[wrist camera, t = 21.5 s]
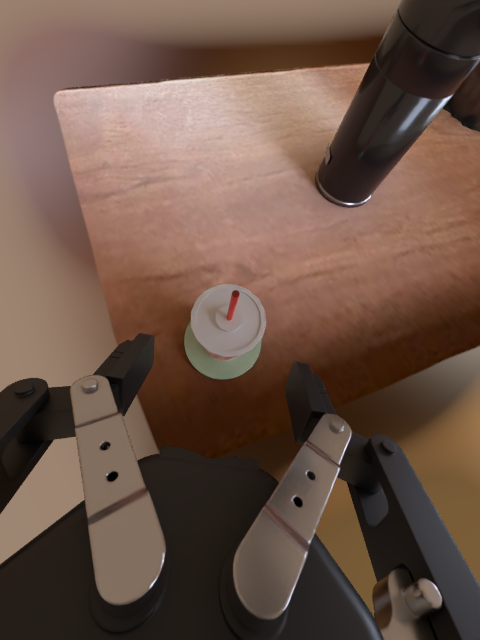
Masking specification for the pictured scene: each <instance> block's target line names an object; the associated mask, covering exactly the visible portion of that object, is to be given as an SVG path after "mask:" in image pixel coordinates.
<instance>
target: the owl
mask: <svg viewBox="0 0 480 640" xmlns="http://www.w3.org/2000/svg"><path fill="white" fill-rule="evenodd" d="M443 109H445V110H447V111H449V112H450V113H452V116H453V117H454V118H456V119H458V120H459V121H461V123H462V125H464V126H467V127H468V128H470V129H474V130H478V131H480V63H479V64H478V65H477V66H476V68H475V69H474V70H473V71H472V73H471V74H470V75H469V76H468V77H467V79H466V80H465V81H464V82H463V84H462V85H461V86H460V87H459V88H458V90H457V91H456V92H455V93H454V95H453V96H452V97H451V98H450V100H449V101H448V102H447V103H446V105H445V106H444V107H443Z"/></svg>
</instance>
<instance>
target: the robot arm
mask: <svg viewBox="0 0 480 640" xmlns="http://www.w3.org/2000/svg"><path fill="white" fill-rule="evenodd" d="M479 63H480V0H401V1H400V4H399V5H398V7H397V9H396V12H395V14H394V16H393V18H392V20H391V22H390V24H389V26H388V28H387V30H386V32H385V34H384V36H383V38H382V40H381V42H380V44H379V46H378V48H377V51H376V53H375V55H374V57H373V59H372V61H371V63H370V65H369V67H368V69H367V71H366V73H365V75H364V77H363V79H362V81H361V83H360V85H359V88H358V90H357V92H356V94H355V96H354V98H353V100H352V102H351V104H350V106H349V108H348V110H347V112H346V114H345V116H344V118H343V120H342V122H341V124H340V126H339V128H338V130H337V132H336V134H335V137H334V139H333V141H332V143H331V145H330V147H329V144H328V146H327V148H326V150H325V157H324V159H323V161H322V163H321V164H320V166H319V168H318V170H317V172H316V176H315V180H316V184H317V187H318V189H319V191H320V192H321V193H322V194H323V196H325V197H326V198H327V199H328V200H329V201H331V202H333V203H335V204H337V205H340V206H343V207H357V206H360V205H363V204H364V203H365V202H367V200H368V199H369V198H370V197H371V195H372V194H373V192H374V191H375V190H376V188H377V187H378V186H379V185H380V184H381V182H382V181H383V180H384V179H385V178H386V176H387V175H388V174H389V173H390V172H391V170H392V169H393V168H394V167H395V165H396V164H397V163H398V162H399V161H400V159H401V158H402V157H403V156H404V155H405V153H406V152H407V151H408V150H409V148H410V147H411V146H412V145H413V144H414V142H415V141H416V140H417V139H418V137H419V136H420V135H421V134H422V133H423V131H424V130H425V129H426V128H427V126H428V125H429V124H430V123H431V122H432V120H433V119H434V118H435V117H436V116H437V114H438V113H439V112H440V111H441V109H442V108H443V107H444V106H445V105H446V103H447V102H448V101H449V100H450V98H451V97H452V96H453V95H454V93H455V92H456V91H457V90H458V88H459V87H460V86H461V85H462V84H463V82H464V81H465V80H466V79H467V77H468V76H469V75H470V74H471V73H472V71H473V70H474V69H475V68H476V66H477V65H478V64H479ZM153 359H154V336H153V335H148V334H143V333H139V334H138V335H137V336H136V338H135V339H134V340H133V341H130V340H127V341H125V342H123V343H121V344H119V345H118V347H117V348H116V349H115V350H114V352H112V353H111V355H110V356H109V357H108V358H107V359H106V360H105V361H104V363H103V364H102V365H101V366H100V367H99V368H98V370H97V371H96V372H95V373H94V374H93V375H90V376H86V377H83V378H80V379H78V380H77V381H76V382H74V383H73V384H72V386H65V387H52V388H48V384H47V382H46V381H45V380H43V379H39V378H29V379H23V380H20V381H17V382H15V383H12V384H11V385H9V386H8V387H6V388H5V389H4V390H3V391H2V392H0V514H1V512H2V511H3V510H4V508H5V507H6V505H7V504H8V503H9V501H10V500H11V499H12V497H13V496H14V494H15V493H16V491H17V490H18V489H19V487H20V486H21V485H22V483H23V482H24V481H25V479H26V478H27V476H28V475H29V474H30V472H31V471H32V469H33V468H34V467H35V465H36V464H37V463H38V461H39V460H40V458H41V457H42V456H43V454H44V453H45V451H46V450H47V449H48V447H49V446H50V445H51V443H52V442H53V440H54V439H61V438H68V437H75V436H76V440H77V447H78V455H79V462H80V469H81V476H82V483H83V491H84V498H85V500H84V501H82V502H81V503H80V504H78V505H77V506H76V507H74V508H73V509H72V510H71V511H69V512H68V513H67V514H65V515H64V516H63V517H61V518H60V519H59V520H58V521H56V522H55V523H54V524H52V525H51V526H50V527H48V528H47V529H46V530H44V531H43V532H42V533H41V534H39V535H38V536H37V537H35V538H34V539H33V540H31V541H30V542H29V543H28V544H26V545H25V546H24V547H22V548H21V549H20V550H19V551H17V552H16V553H14V554H13V555H12V556H11V557H9V558H8V559H7V560H5V561H4V562H3V563H1V564H0V640H480V585H479V584H478V582H477V580H476V578H475V577H474V575H473V573H472V571H471V570H470V568H469V566H468V564H467V563H466V561H465V559H464V557H463V556H462V554H461V552H460V550H459V549H458V547H457V545H456V543H455V542H454V540H453V538H452V537H451V535H450V533H449V531H448V529H447V528H446V526H445V524H444V522H443V520H442V519H441V517H440V516H439V513H438V512H437V510H436V508H435V507H434V505H433V503H432V501H431V500H430V498H429V496H428V494H427V492H426V491H425V489H424V487H423V486H422V484H421V482H420V480H419V478H418V477H417V475H416V473H415V471H414V470H413V468H412V466H411V464H410V463H409V461H408V459H407V457H406V456H405V454H404V452H403V451H402V449H401V448H400V446H399V445H398V444H397V443H395V442H394V441H393V440H392V439H390V438H389V437H386V436H384V435H382V434H374V435H372V437H371V438H370V439H367V438H365V437H362V436H360V435H358V434H356V433H354V432H352V431H351V428H350V426H349V425H348V423H347V422H346V421H345V420H343V419H342V418H340V417H339V416H337V415H336V413H335V410H334V408H333V405H332V403H331V401H330V398H329V396H328V395H327V391H326V389H325V386H324V384H323V382H322V380H321V379H320V378H319V377H318V376H317V374H314V373H312V371H311V369H310V366H309V364H307V363H302V362H296V361H295V362H294V363H293V365H292V368H291V371H290V373H289V376H288V379H287V381H286V386H285V392H286V397H287V402H288V407H289V412H290V417H291V422H292V427H293V431H294V436H295V441H296V444H302V445H303V446H302V448H301V449H300V451H299V452H298V454H297V456H296V457H295V459H294V460H293V462H292V464H291V465H290V467H289V468H288V470H287V471H286V473H285V475H284V476H283V478H282V479H281V481H280V483H279V482H278V481H277V480H276V479H275V478H274V477H273V476H271V475H270V474H269V473H267V472H265V471H264V470H262V469H260V468H259V461H258V460H257V459H250V458H243V457H237V456H234V457H226V458H217V459H209V458H206V457H204V456H202V455H199V454H197V453H195V452H192V451H190V450H188V449H182V448H176V447H169V446H162V449H161V452H160V454H154V455H150V456H147V457H144V458H142V459H140V460H138V461H137V459H136V456H135V453H134V450H133V447H132V444H131V441H130V438H129V435H128V432H127V429H126V426H125V422H124V419H123V416H125V414H126V412H127V410H128V408H129V407H130V405H131V403H132V401H133V400H134V398H135V396H136V394H137V392H138V391H139V389H140V387H141V385H142V384H143V382H144V380H145V378H146V376H147V375H148V373H149V371H150V369H151V367H152V364H153ZM337 477H338V478H340V479H342V480H344V481H346V482H347V484H348V487H349V491H350V494H351V498H352V501H353V504H354V507H355V510H356V514H357V517H358V520H359V523H360V527H361V530H362V533H363V537H364V540H365V543H366V547H367V550H368V553H369V556H370V559H371V563H372V566H373V569H374V573H375V576H376V579H377V583H376V585H375V586H374V588H373V595H372V597H373V605H374V611H375V613H374V616H375V619H374V617H373V615H372V613H371V612H370V610H369V609H368V607H367V605H366V604H365V602H364V601H363V600H362V598H361V597H360V595H359V594H358V593H357V591H356V590H355V589H354V587H353V586H352V584H351V583H350V581H349V580H348V578H347V577H346V576H345V574H344V573H343V572H342V570H341V569H340V567H339V566H338V564H337V563H336V562H335V560H334V559H333V557H332V556H331V555H330V553H329V552H328V550H327V549H326V547H325V546H324V545H323V543H322V542H321V541H320V539H319V538H318V536H317V535H316V533H315V531H316V528H317V526H318V524H319V521H320V519H321V516H322V514H323V511H324V509H325V506H326V503H327V501H328V498H329V496H330V494H331V491H332V489H333V486H334V483H335V481H336V478H337Z"/></svg>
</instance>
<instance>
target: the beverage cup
mask: <svg viewBox="0 0 480 640" xmlns="http://www.w3.org/2000/svg"><path fill="white" fill-rule="evenodd" d="M265 327H266V316H265V310H264V308H263V306H262V304H261V302H260V301H259V299H258V298H257V297H256V296H255V295H254V294H253V293H251V292H250V291H249V290H248V289H246V288H243V287H240V286H237V285H235V284H220V285H218V286H215V287H212V288H210V289H207V290H206V291H205V292H204V293H203V294H202V295H201V296H200V297H199V298H198V299H197V300H196V302H195V304H194V307H193V309H192V311H191V328H192V330H193V333H194V335H195V337H196V339H197V341H198V343H199V344H200V345H201V346H202V347H204V349H205V351H206V353H207V354H208V355H209V356H210V357H211V358H213V359H215V360H218V361H228V360H230V359H233V358H235V357H238V356H240V355H242V354H244V353H246V352H249V351H251V350H252V349H253V348H254V347H255V346H256V345H257V343H258V342H259V341H260V340H261V339H262V337H263V334H264V330H265Z"/></svg>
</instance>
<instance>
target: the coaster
mask: <svg viewBox="0 0 480 640" xmlns="http://www.w3.org/2000/svg"><path fill="white" fill-rule="evenodd" d="M184 347H185V352H186V355H187V357H188V359H189V361H190V362H191V364H192V365H193V366H194V367H195V369H196V370H198V371H199V372H200V373H202V374H203V375H205V376H207V377H210V378H213V379H219V380H226V379H232V378H235V377H238V376H240V375H242V374H243V373H245V372H246V371H248V370H249V369H250V368H251V367H252V366H253V364H254V363H255V361H256V360H257V358H258V355H259V353H260V348H261V340H260V341H259V342H258V343H257V345H256V346H255V347H254V348H253V349H252V350H251V351H249V352H246V353H244V354H242V355H240V356H238V357H235V358H233V359H230V360H228V361H218V360H215V359H213V358H211V357H210V356H209V355H208V354H207V353H206V351H205V349H204V347H202V346H201V345H200V344H199V343H198V341H197V339H196V337H195V335H194V333H193V330H192V328H191V321H190V322H189V324H188V326H187V328H186V331H185V336H184Z"/></svg>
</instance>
